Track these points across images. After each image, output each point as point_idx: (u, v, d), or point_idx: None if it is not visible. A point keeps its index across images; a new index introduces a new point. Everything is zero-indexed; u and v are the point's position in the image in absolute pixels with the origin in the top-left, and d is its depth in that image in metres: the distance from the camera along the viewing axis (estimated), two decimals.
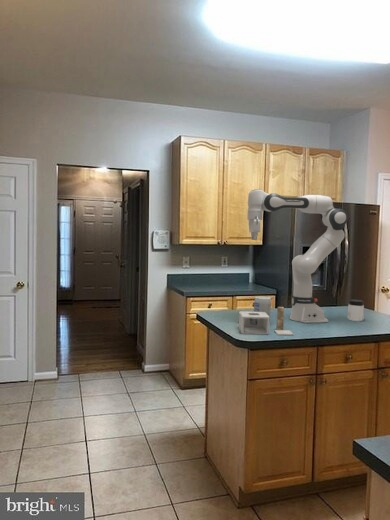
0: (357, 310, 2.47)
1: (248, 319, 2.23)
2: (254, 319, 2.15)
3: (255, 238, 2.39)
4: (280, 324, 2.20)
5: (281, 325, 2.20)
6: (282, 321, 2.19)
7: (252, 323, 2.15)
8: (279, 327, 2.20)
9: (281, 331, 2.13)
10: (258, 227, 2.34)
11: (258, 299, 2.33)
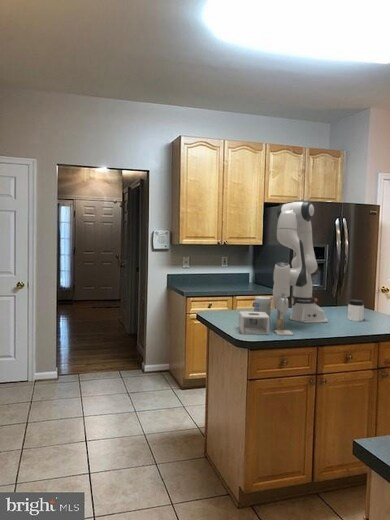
0: (357, 310, 2.47)
1: (248, 319, 2.23)
2: (254, 319, 2.15)
3: (281, 317, 2.18)
4: (280, 324, 2.20)
5: (281, 325, 2.20)
6: (282, 321, 2.19)
7: (252, 323, 2.15)
8: (279, 327, 2.20)
9: (281, 331, 2.13)
10: (286, 308, 2.10)
11: (258, 299, 2.33)
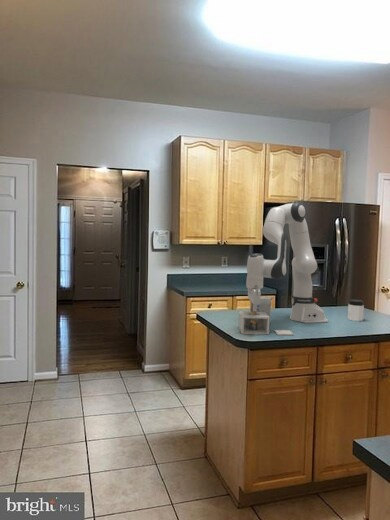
0: (357, 310, 2.47)
1: (248, 319, 2.23)
2: (254, 324, 2.15)
3: (254, 309, 2.13)
4: None
5: None
6: (255, 313, 2.15)
7: (252, 328, 2.15)
8: (252, 319, 2.15)
9: (281, 331, 2.13)
10: (258, 299, 2.06)
11: None
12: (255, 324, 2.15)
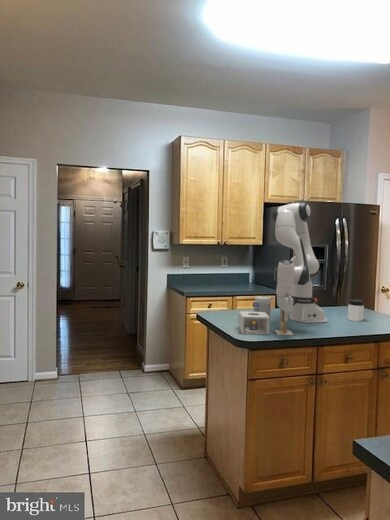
0: (357, 310, 2.47)
1: (248, 319, 2.23)
2: (254, 324, 2.15)
3: (286, 318, 2.08)
4: (283, 327, 2.10)
5: (284, 327, 2.10)
6: (285, 323, 2.10)
7: (252, 328, 2.15)
8: (282, 330, 2.11)
9: None
10: (290, 307, 2.01)
11: (258, 299, 2.33)
12: (255, 324, 2.15)
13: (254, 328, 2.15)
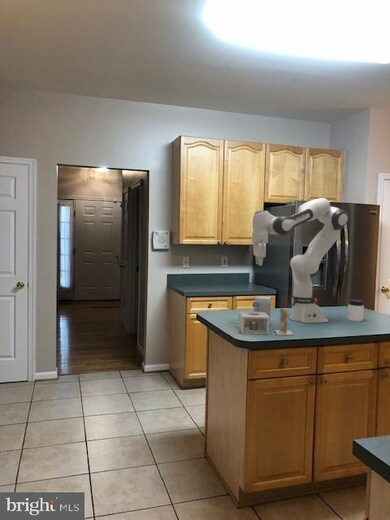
0: (357, 310, 2.47)
1: (248, 319, 2.23)
2: (254, 324, 2.15)
3: (260, 263, 2.22)
4: (283, 327, 2.10)
5: (284, 327, 2.10)
6: (285, 323, 2.10)
7: (252, 328, 2.15)
8: (282, 329, 2.11)
9: None
10: (264, 252, 2.17)
11: (258, 299, 2.33)
12: (255, 324, 2.15)
13: (254, 328, 2.15)
